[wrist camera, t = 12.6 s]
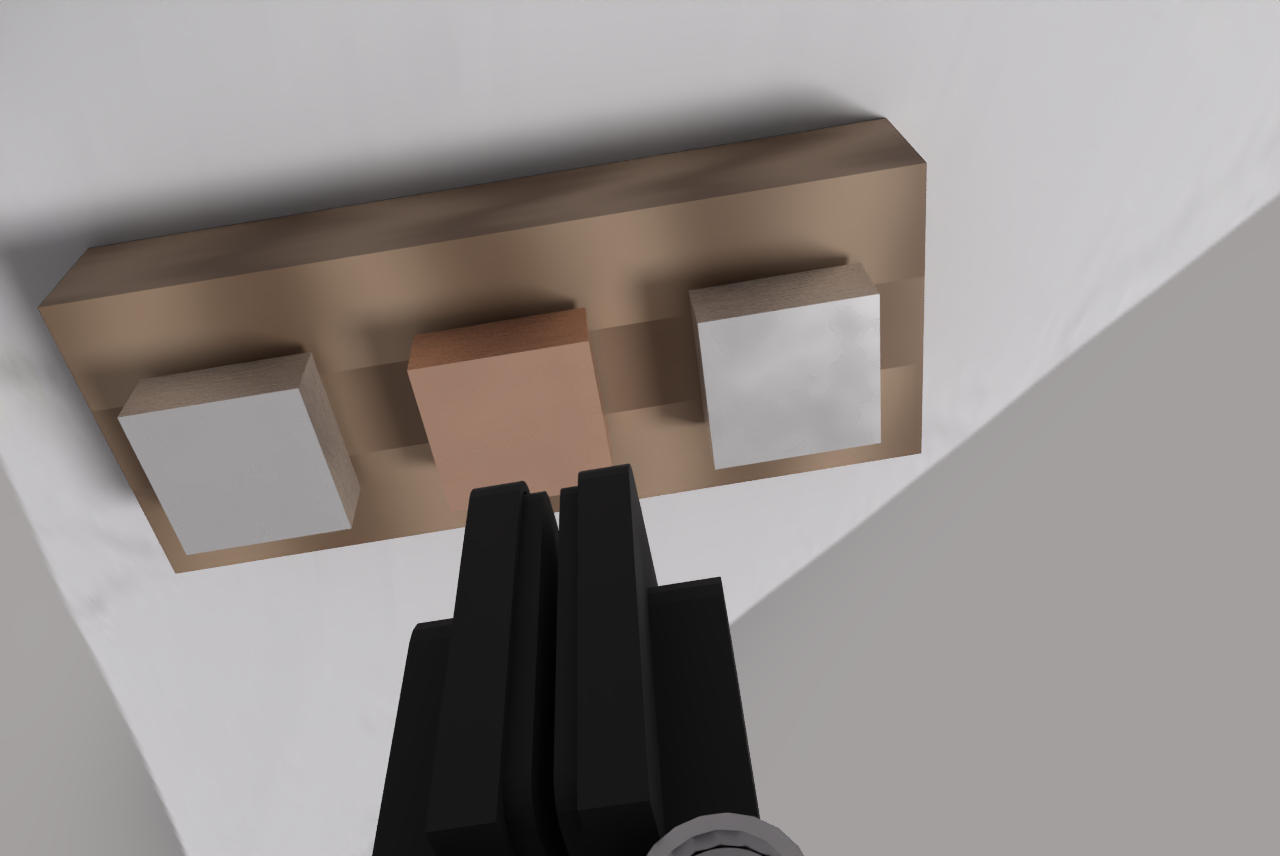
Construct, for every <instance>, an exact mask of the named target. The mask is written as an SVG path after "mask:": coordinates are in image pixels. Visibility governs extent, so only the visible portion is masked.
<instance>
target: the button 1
mask: <svg viewBox="0 0 1280 856" xmlns="http://www.w3.org/2000/svg"><path fill="white" fill-rule="evenodd" d="M117 418H118V420H119V422H120V424H121V426H122V428H123V430H124V432H125V434H126V436H127V438H128V440H129V442H130V444H131V446H132V448H133V450H134V452H135V454H136V456H137V458H138V460H139V462H140V464H141V466H142V468H143V470H144V471H145V473H146V475H147V477H148V479H149V481H150V483H151V485H152V487H153V489H154V491H155V493H156V495H157V497H158V499H159V501H160V503H161V505H162V507H163V509H164V511H165V513H166V515H167V517H168V519H169V521H170V523H171V525H172V527H173V529H174V531H175V533H176V535H177V537H178V539H179V541H180V543H181V545H182V547H183V549H184V551H185V553H186V555H190V554H197V553H203V552H209V551H215V550H221V549H228V548H234V547H240V546H246V545H252V544H258V543H265V542H271V541H277V540H283V539H289V538H296V537H302V536H308V535H314V534H320V533H327V532H333V531H339V530H345V529H351V528H352V524H353V520H354V515H355V511H356V506H357V502H358V497H359V493H360V489H361V488H360V485H359V482H358V480H357V477H356V474H355V471H354V469H353V466H352V463H351V460H350V458H349V455H348V452H347V449H346V447H345V444H344V441H343V438H342V436H341V433H340V430H339V427H338V425H337V422H336V419H335V416H334V414H333V411H332V408H331V405H330V403H329V400H328V397H327V394H326V392H325V389H324V386H323V383H322V381H321V378H320V375H319V372H318V370H317V367H316V364H315V361H314V359H313V356H312V353H311V352H307V353H301V354H295V355H289V356H283V357H276V358H270V359H264V360H258V361H252V362H246V363H239V364H233V365H227V366H221V367H215V368H209V369H203V370H196V371H190V372H184V373H178V374H172V375H166V376H160V377H153V378H147V379H141V380H140V381H139V382H138V384H137V386H136V387H135V389H134V391H133V392H132V394H131V396H130V397H129V399H128V401H127V402H126V404H125V406H124V407H123V409H122V411H121V412H120V414H119V416H118V417H117Z"/></svg>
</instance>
